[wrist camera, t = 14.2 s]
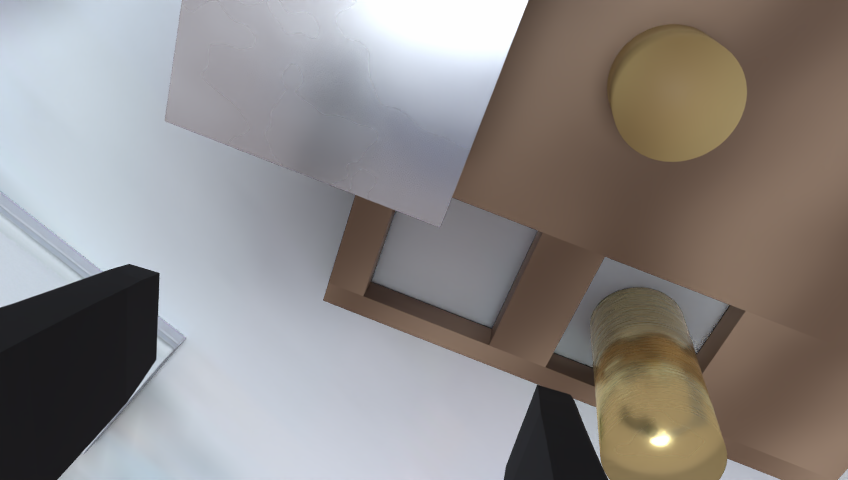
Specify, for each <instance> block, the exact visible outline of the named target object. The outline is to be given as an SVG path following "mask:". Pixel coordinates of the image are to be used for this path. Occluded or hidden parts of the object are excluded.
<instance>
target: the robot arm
mask: <svg viewBox="0 0 848 480" xmlns="http://www.w3.org/2000/svg"><path fill="white" fill-rule="evenodd" d="M158 300H159V273H158V272H154V271H151V270H147V269H144V268H141V267H137V266H134V265H131V264H127V265H124V266H120V267H117V268H114V269H111V270H107V271H104V272H101V273H99V274H96V275H93V276H90V277H87V278H84V279H81V280H79V281H76V282H73V283H70V284H67V285H65V286H62V287H59V288H56V289H53V290H50V291H47V292H45V293H42V294H39V295H36V296H33V297H30V298H27V299H25V300H22V301H19V302H16V303H13V304H10V305H7V306H3V307H0V480H57V479H58V478H59V477H60V476H61V475H62V474H63V473H64V472H65V471H66V469H67V468H68V467H69V466H70V465H71V464H72V463H73V462H74V461H75V460H76V459H77V457H78V456H79V455H80V454H81V453H82V452H83V451H84V450H85V449H86V448H87V447H88V445H89V444H90V443H91V442H92V441H93V440H94V439H95V438H96V437H97V436H98V435H99V433H100V432H101V431H102V430H103V429H104V428H105V427H106V426H107V425H108V423H109V422H110V421H111V420H112V419H113V418H114V417H115V416H116V415H117V413H118V412H119V411H120V410H121V409H122V408H123V407H124V405H125V404H126V403H127V402H128V400H129V399H130V398H131V396H132V395H133V393H134V392H135V391H136V389H137V388H138V386H139V385H140V384H141V382H142V381H143V379H144V378H145V376H146V375H147V373H148V372H149V370H150V369H151V367H152V366H153V364H154V363H155V361H156V358H157V329H158ZM504 480H608V478H607V476H606V474H605V472H604V470H603V468H602V466H601V463H600V461H599V459H598V457H597V454H596V452H595V450H594V448H593V445H592V443H591V441H590V438H589V436H588V434H587V431H586V429H585V426H584V424H583V421H582V419H581V416H580V414H579V411H578V409H577V406H576V404H575V401H574V400H573V398H572V396H571V395H570V394H567V393H564V392H560V391H557V390H553V389H550V388H547V387H543V386H540V385H537V387H536V389H535V392H534V395H533V397H532V400H531V403H530V405H529V408H528V410H527V413H526V416H525V418H524V421H523V423H522V426H521V429H520V431H519V434H518V436H517V439H516V442H515V444H514V447H513V449H512V452H511V455H510V457H509V460H508V463H507V465H506V470H505V476H504Z"/></svg>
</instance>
